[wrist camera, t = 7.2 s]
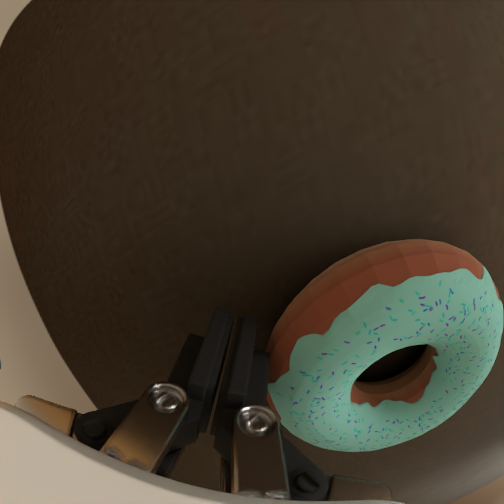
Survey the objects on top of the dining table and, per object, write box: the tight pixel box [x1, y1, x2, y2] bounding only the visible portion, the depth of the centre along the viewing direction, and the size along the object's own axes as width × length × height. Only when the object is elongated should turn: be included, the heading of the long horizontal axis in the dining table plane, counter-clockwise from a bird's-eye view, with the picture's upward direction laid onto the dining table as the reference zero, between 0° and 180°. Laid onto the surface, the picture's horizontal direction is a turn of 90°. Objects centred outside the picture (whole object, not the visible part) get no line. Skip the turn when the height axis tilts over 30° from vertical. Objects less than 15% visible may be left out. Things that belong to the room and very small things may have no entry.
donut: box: [265, 239, 503, 452], centre depth 11 cm, size 12×12×4 cm
